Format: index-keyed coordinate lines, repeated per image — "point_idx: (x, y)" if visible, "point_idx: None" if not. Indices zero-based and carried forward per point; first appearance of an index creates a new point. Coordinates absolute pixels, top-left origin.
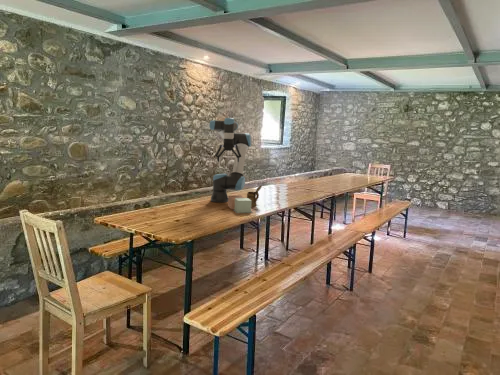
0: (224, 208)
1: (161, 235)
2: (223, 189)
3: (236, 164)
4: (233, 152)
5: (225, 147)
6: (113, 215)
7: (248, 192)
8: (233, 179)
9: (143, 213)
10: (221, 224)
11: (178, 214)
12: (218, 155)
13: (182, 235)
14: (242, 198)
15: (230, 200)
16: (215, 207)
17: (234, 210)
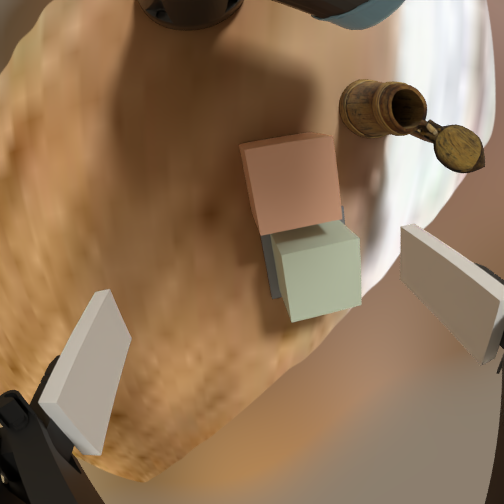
0: (216, 189)
1: (103, 468)
2: None
3: (415, 294)
4: (501, 476)
5: None
6: None
7: (390, 117)
8: None
9: None
10: (212, 421)
11: (47, 326)
12: (27, 456)
13: (140, 471)
14: (326, 258)
15: (253, 206)
16: (165, 169)
17: (267, 246)
